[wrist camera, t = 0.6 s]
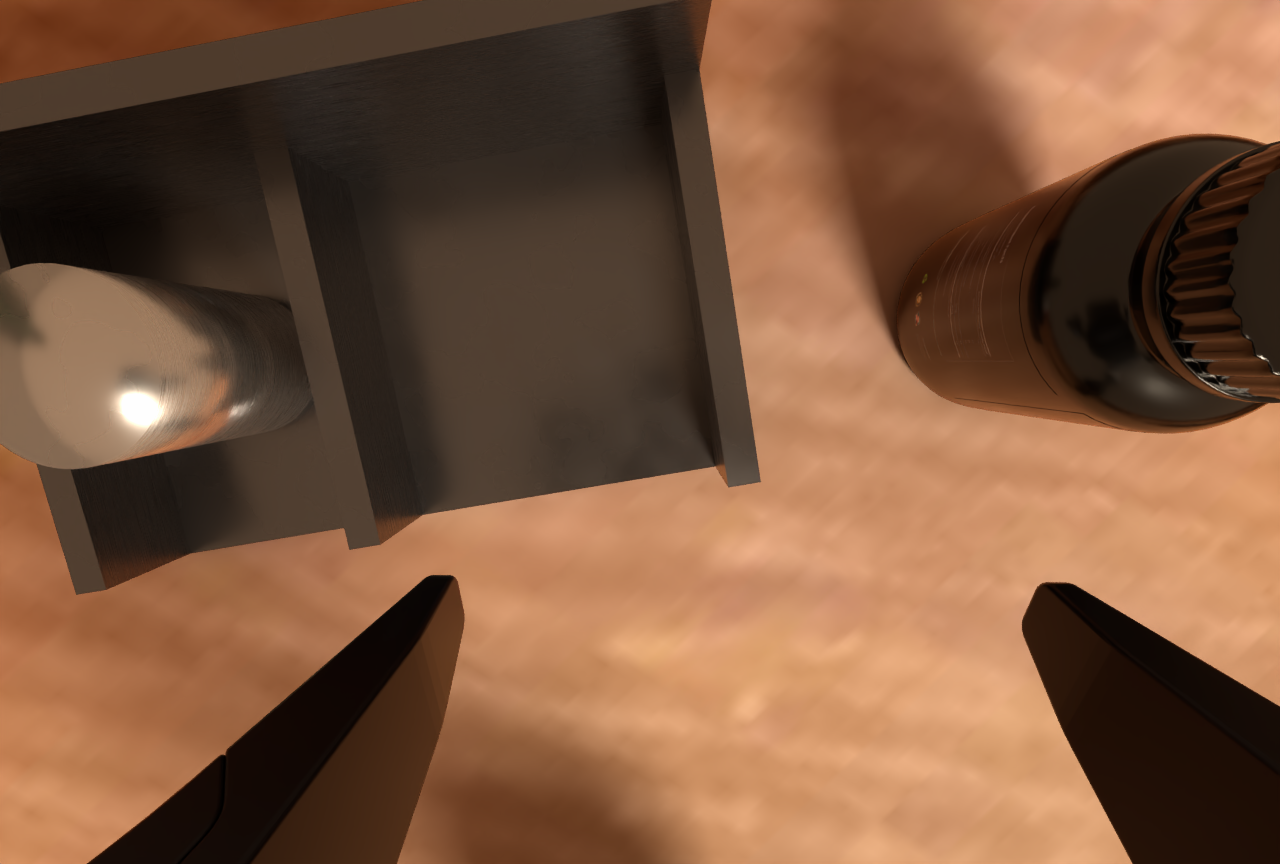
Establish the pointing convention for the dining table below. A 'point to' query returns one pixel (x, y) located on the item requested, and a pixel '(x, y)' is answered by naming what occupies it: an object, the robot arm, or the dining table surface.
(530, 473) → the condiment caddy
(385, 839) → the robot arm
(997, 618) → the dining table surface
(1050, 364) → the supplement bottle
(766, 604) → the dining table surface
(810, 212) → the dining table surface
